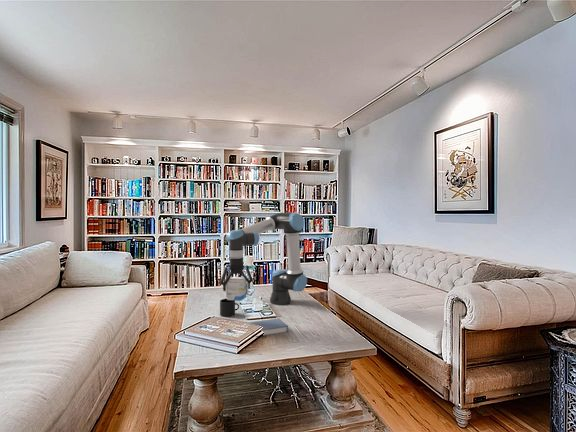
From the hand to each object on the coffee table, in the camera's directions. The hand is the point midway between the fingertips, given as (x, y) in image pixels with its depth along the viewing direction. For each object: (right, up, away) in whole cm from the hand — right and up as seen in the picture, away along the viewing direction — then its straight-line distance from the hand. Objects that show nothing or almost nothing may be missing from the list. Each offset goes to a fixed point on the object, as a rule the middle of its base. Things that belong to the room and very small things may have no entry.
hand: (236, 295), depth 183 cm
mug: (-8, -17, +21) cm, 28 cm away
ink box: (0, -2, 0) cm, 2 cm away
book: (+18, -18, -5) cm, 26 cm away
